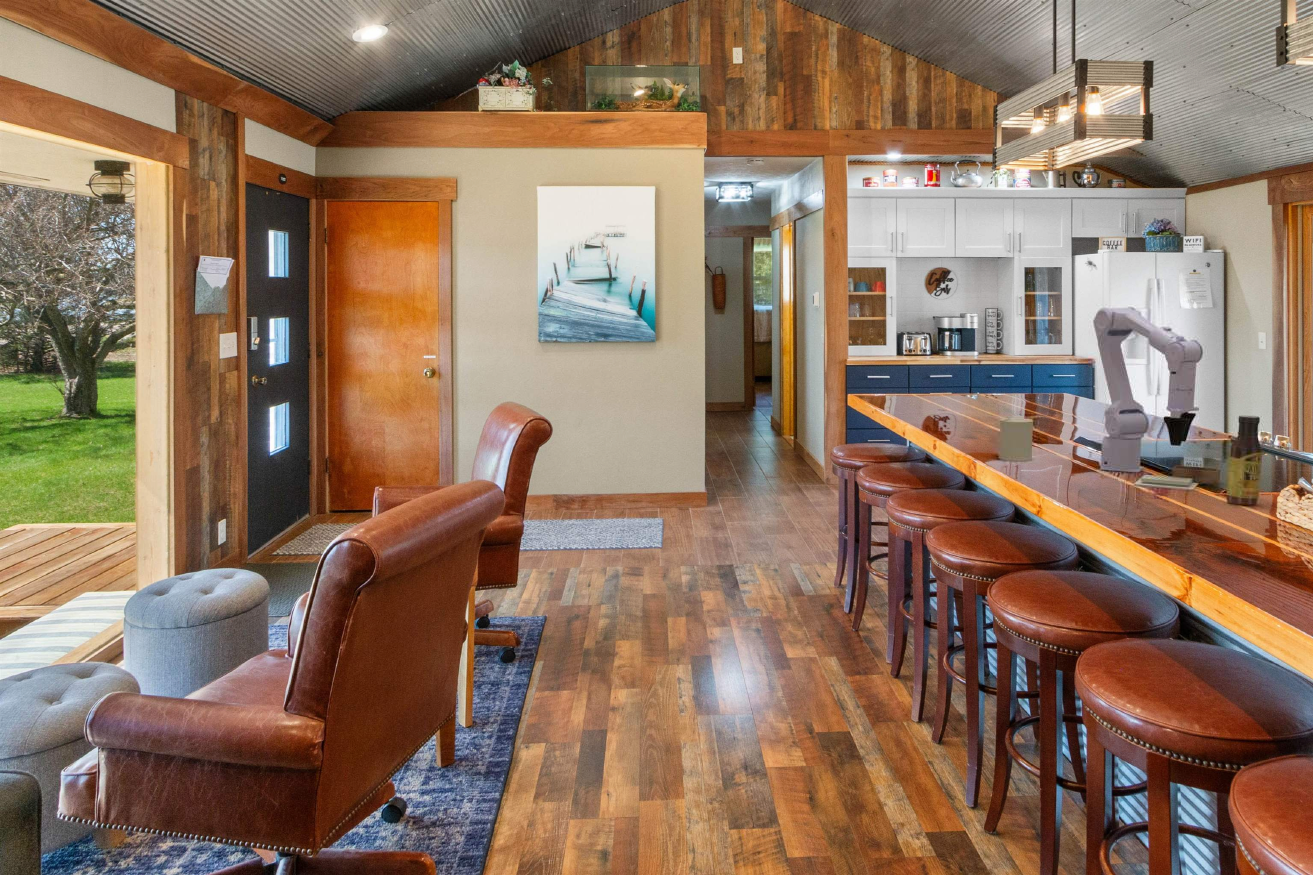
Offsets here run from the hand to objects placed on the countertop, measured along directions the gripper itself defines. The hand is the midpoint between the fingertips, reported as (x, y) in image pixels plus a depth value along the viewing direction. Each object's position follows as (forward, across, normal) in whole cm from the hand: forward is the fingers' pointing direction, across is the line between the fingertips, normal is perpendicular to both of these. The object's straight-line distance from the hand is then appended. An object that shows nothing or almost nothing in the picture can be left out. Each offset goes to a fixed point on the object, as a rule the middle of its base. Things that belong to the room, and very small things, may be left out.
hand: (1178, 443), depth 240 cm
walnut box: (+10, +2, -4) cm, 11 cm away
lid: (+9, -6, +1) cm, 11 cm away
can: (+10, +15, +44) cm, 48 cm away
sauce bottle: (+10, -20, -16) cm, 28 cm away
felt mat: (+10, -6, +1) cm, 12 cm away
